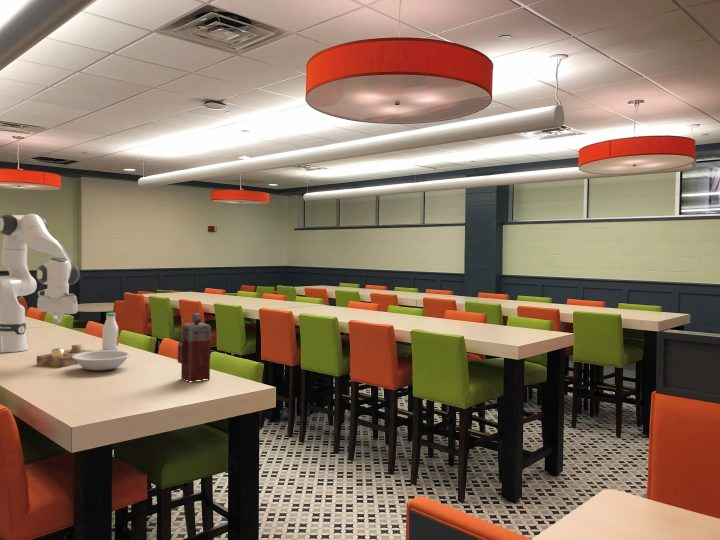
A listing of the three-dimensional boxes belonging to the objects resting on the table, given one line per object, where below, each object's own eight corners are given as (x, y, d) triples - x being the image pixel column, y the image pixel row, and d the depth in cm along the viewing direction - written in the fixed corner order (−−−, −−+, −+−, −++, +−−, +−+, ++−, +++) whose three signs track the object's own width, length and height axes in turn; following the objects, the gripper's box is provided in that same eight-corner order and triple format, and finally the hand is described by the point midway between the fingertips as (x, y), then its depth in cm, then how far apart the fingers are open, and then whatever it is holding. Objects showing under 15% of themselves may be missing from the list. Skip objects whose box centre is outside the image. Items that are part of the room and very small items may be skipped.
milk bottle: (114, 351, 296) (114, 313, 296) (99, 351, 297) (100, 313, 296) (120, 349, 304) (121, 312, 304) (106, 348, 304) (107, 312, 304)
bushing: (57, 362, 264) (57, 347, 264) (66, 363, 262) (66, 348, 262) (48, 364, 259) (48, 349, 259) (57, 365, 258) (57, 350, 258)
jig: (36, 365, 258) (36, 349, 258) (73, 357, 279) (73, 342, 279) (61, 367, 254) (62, 351, 254) (96, 359, 275) (96, 344, 275)
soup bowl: (59, 371, 247) (59, 356, 247) (107, 362, 268) (107, 348, 268) (95, 377, 236) (96, 362, 236) (142, 368, 257) (142, 353, 257)
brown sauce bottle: (175, 379, 236) (176, 312, 235) (201, 376, 243) (202, 311, 243) (184, 383, 229) (185, 314, 229) (209, 380, 236) (211, 313, 236)
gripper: (81, 293, 262) (80, 323, 262) (46, 291, 267) (45, 319, 268) (71, 294, 256) (70, 324, 256) (35, 291, 261) (34, 321, 262)
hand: (57, 322), depth 262 cm, fingers closed
